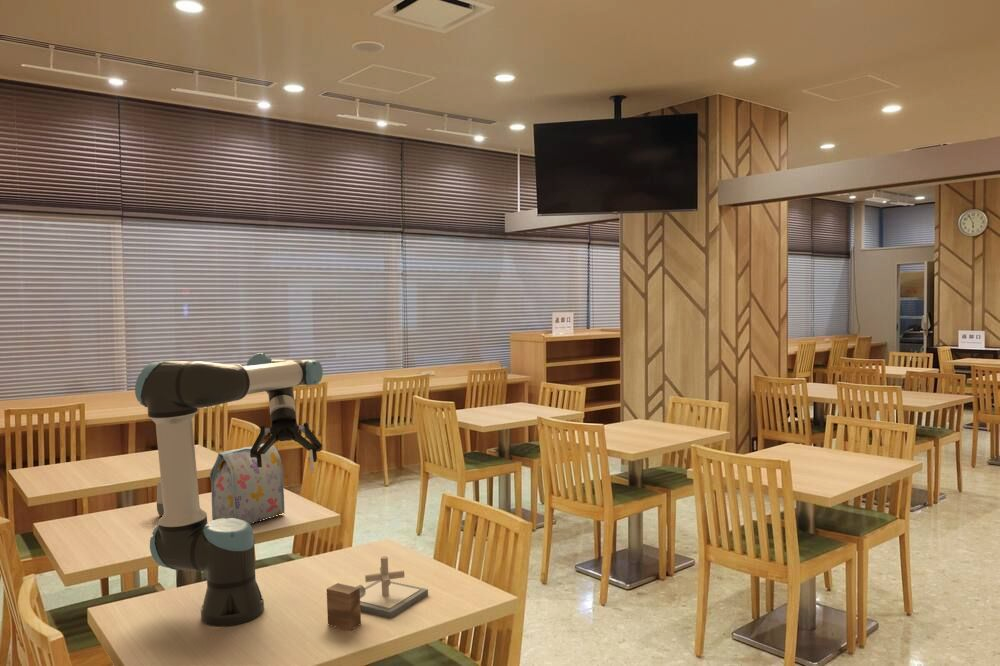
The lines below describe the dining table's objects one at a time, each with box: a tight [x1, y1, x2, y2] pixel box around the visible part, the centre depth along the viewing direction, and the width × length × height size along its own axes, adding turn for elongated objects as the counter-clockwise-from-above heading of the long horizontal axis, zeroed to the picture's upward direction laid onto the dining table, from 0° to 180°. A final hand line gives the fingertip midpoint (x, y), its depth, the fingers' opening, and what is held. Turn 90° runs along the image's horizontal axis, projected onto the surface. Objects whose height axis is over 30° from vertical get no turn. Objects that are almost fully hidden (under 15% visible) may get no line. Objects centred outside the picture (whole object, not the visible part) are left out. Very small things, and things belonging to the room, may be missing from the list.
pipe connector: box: [364, 555, 405, 596], centre depth 197 cm, size 10×10×10 cm
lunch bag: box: [209, 443, 285, 525], centre depth 273 cm, size 22×17×26 cm
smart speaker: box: [156, 482, 164, 517], centre depth 281 cm, size 10×9×14 cm
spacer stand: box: [326, 580, 429, 631], centre depth 194 cm, size 26×16×9 cm, turn 150°
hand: (288, 473), depth 217 cm, fingers open, 13 cm apart
